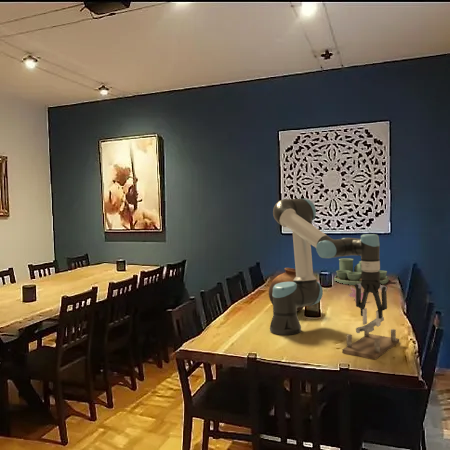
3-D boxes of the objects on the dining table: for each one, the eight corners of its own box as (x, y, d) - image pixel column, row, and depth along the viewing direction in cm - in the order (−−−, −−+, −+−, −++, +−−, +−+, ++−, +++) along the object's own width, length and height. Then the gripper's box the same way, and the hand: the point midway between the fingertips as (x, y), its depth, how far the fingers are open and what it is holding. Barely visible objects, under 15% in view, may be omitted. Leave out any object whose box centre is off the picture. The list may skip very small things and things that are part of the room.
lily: (344, 304, 283) (350, 292, 278) (345, 293, 293) (350, 281, 288) (364, 310, 281) (369, 298, 276) (364, 299, 291) (369, 287, 286)
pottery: (262, 310, 270) (261, 267, 269) (294, 305, 281) (293, 264, 279) (284, 318, 250) (283, 272, 248) (318, 312, 260) (317, 268, 259)
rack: (342, 352, 191) (342, 337, 191) (368, 337, 212) (368, 323, 212) (375, 359, 182) (375, 343, 182) (399, 342, 203) (399, 327, 203)
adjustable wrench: (378, 319, 208) (378, 316, 208) (392, 320, 204) (392, 316, 204) (354, 333, 190) (353, 328, 190) (368, 334, 185) (368, 329, 185)
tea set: (332, 285, 340) (332, 263, 340) (336, 277, 378) (336, 257, 378) (389, 287, 328) (389, 264, 327) (388, 278, 366) (387, 257, 365)
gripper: (346, 270, 199) (347, 323, 200) (388, 273, 187) (389, 330, 188) (353, 268, 204) (355, 320, 205) (395, 270, 193) (396, 325, 194)
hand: (371, 324), depth 197 cm, fingers closed on adjustable wrench, 5 cm apart
